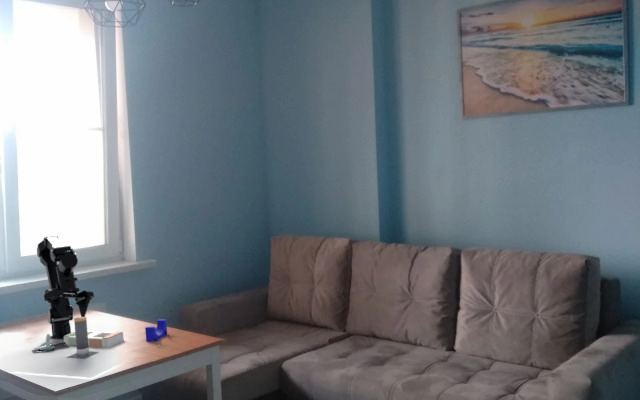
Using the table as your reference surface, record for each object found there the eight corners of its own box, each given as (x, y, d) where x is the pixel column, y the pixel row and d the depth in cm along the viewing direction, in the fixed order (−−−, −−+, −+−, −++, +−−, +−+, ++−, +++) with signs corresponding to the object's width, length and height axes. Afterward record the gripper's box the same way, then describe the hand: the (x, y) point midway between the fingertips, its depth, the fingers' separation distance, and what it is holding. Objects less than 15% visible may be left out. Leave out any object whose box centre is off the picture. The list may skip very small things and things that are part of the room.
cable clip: (156, 334, 261) (155, 319, 261) (167, 334, 260) (166, 319, 260) (142, 343, 249) (141, 327, 249) (153, 343, 249) (152, 327, 248)
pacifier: (38, 355, 241) (56, 351, 244) (36, 338, 240) (54, 335, 243) (35, 351, 247) (52, 347, 250) (33, 334, 246) (50, 331, 250)
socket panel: (63, 346, 251) (62, 336, 251) (80, 339, 260) (79, 329, 259) (107, 348, 244) (107, 338, 244) (123, 341, 253) (122, 331, 252)
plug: (74, 356, 235) (71, 319, 234) (82, 352, 238) (79, 316, 238) (83, 356, 233) (81, 319, 232) (91, 353, 237) (88, 317, 236)
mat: (66, 359, 234) (65, 357, 233) (81, 352, 241) (81, 350, 241) (84, 360, 231) (84, 358, 231) (99, 353, 238) (99, 351, 238)
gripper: (70, 286, 260) (77, 325, 255) (30, 284, 244) (37, 325, 239) (91, 276, 256) (98, 315, 251) (51, 272, 240) (59, 314, 235)
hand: (73, 317), depth 244 cm, fingers open, 9 cm apart
